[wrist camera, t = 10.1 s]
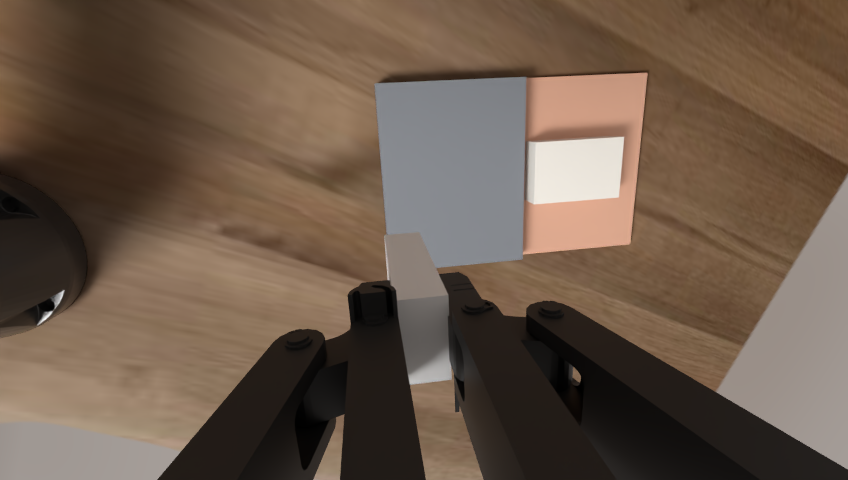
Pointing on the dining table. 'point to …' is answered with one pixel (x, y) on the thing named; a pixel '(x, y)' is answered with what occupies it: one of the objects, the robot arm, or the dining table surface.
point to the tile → (573, 169)
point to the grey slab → (455, 166)
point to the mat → (575, 118)
